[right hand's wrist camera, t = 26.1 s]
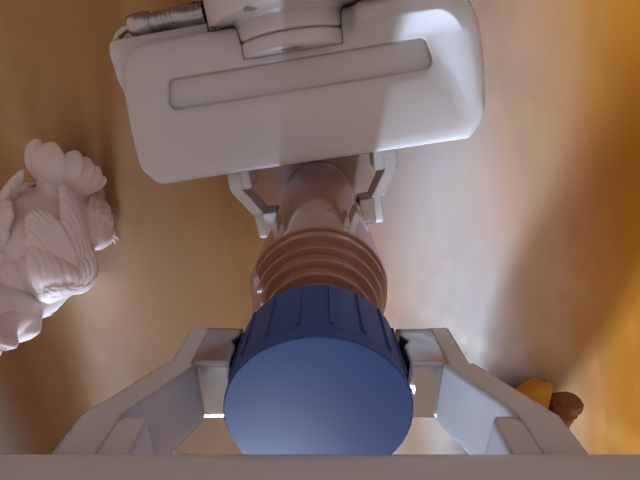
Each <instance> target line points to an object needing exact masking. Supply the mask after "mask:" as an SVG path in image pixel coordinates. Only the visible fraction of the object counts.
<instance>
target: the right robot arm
mask: <svg viewBox="0 0 640 480" xmlns="http://www.w3.org/2000/svg"><path fill="white" fill-rule="evenodd" d="M242 333H244V330H243V329H231V328H193V329H191V330H190V331H189V333H188V335H187V337H186V338H185V340H184V342H183V343H182V345H181V347H180V349H179V350H178V352H177V354H176V355H175V357H174V359H173V360H172V362H171V364H164V365H163V366H161V367H159V368H158V369H156V370H154V371H153V372H151V373H150V374H148V375H146V376H145V377H143V378H141V379H140V380H138V381H136V382H135V383H133V384H132V385H130V386H128V387H127V388H125V389H123V390H122V391H120V392H119V393H117V394H115V395H114V396H112V397H110V398H109V399H107V400H105V401H104V402H102V403H101V404H99V405H97V406H96V407H94V408H92V409H91V410H89V411H87V412H86V413H84V414H83V415H81V416H80V418H79V419H78V420H77V421H76V423H75V424H74V425H73V427H72V428H71V429H70V430H69V432H68V433H67V434H66V436H65V437H64V438H63V439H62V441H61V442H60V443H59V445H58V446H57V447H56V448H55V450H54V451H53V452H52V453H51V454H0V480H640V455H589V454H588V453H587V452H586V450H585V449H584V448H583V447H582V445H581V444H580V443H579V441H578V440H577V439H576V437H575V436H574V435H573V434H572V432H571V431H570V430H569V428H568V427H567V426H566V425H565V423H564V422H563V421H562V419H561V418H560V417H559V416H558V415H557V414H555V413H553V412H552V411H550V410H548V409H547V408H545V407H544V406H542V405H540V404H539V403H537V402H535V401H534V400H532V399H531V398H529V397H527V396H526V395H524V394H522V393H521V392H519V391H518V390H516V389H514V388H513V387H511V386H509V385H508V384H506V383H505V382H503V381H501V380H500V379H498V378H496V377H495V376H493V375H492V374H490V373H488V372H487V371H485V370H483V369H482V368H480V367H479V366H477V365H475V364H469V363H468V361H467V360H466V358H465V356H464V354H463V353H462V351H461V349H460V348H459V346H458V344H457V343H456V341H455V339H454V338H453V336H452V334H451V333H450V331H449V329H447V328H429V329H396V331H395V335H396V338H397V341H398V345H399V348H400V351H401V354H402V357H403V360H404V363H405V366H406V369H407V372H408V374H406V377H407V380H408V383H409V387H410V390H411V393H412V397H413V405H414V407H413V417H433V418H435V419H436V420H437V421H438V423H439V424H440V425H441V426H442V427H443V428H444V429H445V430H446V431H447V432H448V433H449V434H450V435H451V436H452V437H453V438H454V439H455V440H456V441H457V442H458V443H459V444H460V445H461V446H462V447H463V448H464V449H465V450H466V451H467V452H468V453H469V454H470V455H296V454H247V455H170V454H171V453H172V452H173V451H174V450H175V449H176V448H177V447H178V446H179V445H180V444H181V443H182V442H183V441H184V440H185V439H186V438H187V437H188V436H189V435H190V434H191V432H192V431H193V430H194V429H195V428H196V427H197V426H198V425H199V424H200V423H201V422H202V421H203V420H204V418H207V417H224V414H223V402H224V395H225V392H226V389H227V385H228V382H229V379H227V377H228V374H229V371H230V368H231V365H232V362H233V359H234V357H235V354H236V351H237V348H238V345H239V342H240V339H241V336H242Z"/></svg>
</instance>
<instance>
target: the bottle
mask: <svg viewBox="0 0 640 480" xmlns="http://www.w3.org/2000/svg"><path fill="white" fill-rule="evenodd" d="M306 285H332V286H336V287H341V288H344V289H347V290H350V291H352V292H354V293H359V295H361V296H362V297H364V298H366V299H367V300H369V301H370V302H371V303H372V304H374V305H375V306H376V307H377V308H380V309H381V312H382V314H383V313H384V310H385V306H386V301H387V277H386V273H385V270H384V267H383V264H382V261H381V259H380V256H379V254H378V251H377V249H376V246H375V244H374V241H373V239H372V236H371V234H370V231H369V229H368V226H367V224H366V221H365V219H364V216H363V214H362V211H361V209H360V206H359V204H358V201H357V199H356V196H355V194H354V191H353V189H352V186H351V183H350V181H349V179H348V178H347V176H346V175H345V173H344V172H343V171H342V170H340V169H339V168H338V167H336V166H334V165H332V164H329V163H324V162H315V163H310V164H307V165H305V166H303V167H301V168H300V169H299V170H298V171H297V172H295V174H294V175H293V176H292V178H291V179H290V182H289V184H288V186H287V189H286V191H285V194H284V196H283V198H282V201H281V203H280V206H279V208H278V211H277V213H276V216H275V218H274V220H273V223H272V225H271V228H270V230H269V233H268V235H267V237H266V240H265V242H264V245H263V247H262V250H261V252H260V254H259V257H258V259H257V262H256V264H255V267H254V269H253V273H252V277H251V301H252V307H253V310H254V312H257V311H258V310H259V309H260V307H261V306H262V305H264V304H265V303H266V302H267V301H269V300H270V299H272V298H273V296H274V295H276V296H277V295H278V294H280V293H283V292H285V291H287V290H290V289H293V288H297V287H299V286H306Z"/></svg>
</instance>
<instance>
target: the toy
mask: <svg viewBox="0 0 640 480" xmlns="http://www.w3.org/2000/svg"><path fill="white" fill-rule="evenodd" d="M514 389H516V390H518V391H519V392H521V393H522V394H524V395H526V396H527V397H529V398H531V399H532V400H534V401H535V402H537V403H539V404H540V405H542V406H544V407H545V408H547V409H548V410H550V411H552V412H553V413H555V414H557V415H558V416H559V417H560V418H561V419H562V421H563V422H564V423H565V425H566V426H567V427H568V428H569V427H570V426H571V424H572V422H573V420H574V419H576V418H577V416H578V415H579V414H581V413H582V411H583V406H584V404H583V403H582V401H581V400H580V398H579V397H577V396H576V395H575V394H573V393H570V392H558V393H553V394H552V392H553V386H552V384H551V383H548V382H546V381H543V380H540V379H534V378H532V379H529V380H527V381H525V382H523V383H521V384H520V385H519V386H518V387H516V388H514ZM550 399H551V400H550ZM549 402H550V405H549Z"/></svg>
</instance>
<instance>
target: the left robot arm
mask: <svg viewBox="0 0 640 480" xmlns="http://www.w3.org/2000/svg"><path fill="white" fill-rule="evenodd" d="M167 30H168V31H167ZM128 32H130V34H131V35H132V36H134V37H128V38H123V37H124V36H125V35H126V34H127V33H128ZM109 50H110V57H111V60H112V63H113V66H114V69H115V72H116V75H117V79H118V81H119V84H120V85H121V87H122V89H123V90H124V91H125V98H126V105H127V111H128V117H129V122H130V127H131V132H132V137H133V141H134V145H135V149H136V153H137V157H138V160H139V163H140V166H141V168H142V170H143V171H144V172H145V173H146V174H148V175H149V176H150V177H151V178H152V179H154V180H155V181H156V182H158V183H160V184H165V183H172V182H179V181H186V180H192V179H199V178H206V177H212V176H219V175H225V174H227V179H228V183H229V187H230V191H231V193H232V194H233V195H234V196H235V197H236V198H237V199H238V200H239V201H240V203H241V204H242V205H243V206H244V207H245V208H246V209H247V210H248V211H249V212H250V213H251V214H252V215H254V216H255V221H256V225H257V229H258V234H259V237H260V239H261V238H266V237H267V235H268V233H269V230H270V228H271V225H272V223H273V220H274V218H275V216H276V213H277V211H278V208H279V205H275V206H268V205H267V204H266V203H265V202H264V201H263V199H262V198H261V197H260V196H259V195H258V193H257V192H256V191H255V190H254V189H253V185H254V184H255V183H256V182H257V175H256V170H259V169H265V168H272V167H279V166H285V165H292V164H298V163H305V162H312V161H318V160H325V159H332V158H338V157H345V156H352V155H358V154H365V153H369V156H370V164H371V165H372V166H373V167H374V168H375V169H376V170H377V171H376V173H375V176H374V178H373V180H372V183H371V185H370V187H369V190H368V192H364V193H358V194H356V196H357V201H358V204H359V206H360V209H361V211H362V214H363V216H364V219H365V221H366V224H369V223H375V222H376V223H377V222H383V206H382V196H384V194H385V192H386V190H387V188H388V186H389V184H390V182H391V180H392V178H393V176H394V174H395V172H396V170H397V168H398V167H397V151H396V149H398V148H405V147H411V146H418V145H425V144H431V143H438V142H445V141H451V140H458V139H464V138H468V137H470V136H471V134H472V133H473V132H474V131H475V129H476V128H477V126H478V125H479V123H480V122H481V120H482V118H483V114H484V104H485V86H484V65H483V52H482V44H481V35H480V28H479V23H478V19H477V16H476V13H475V10H474V8H473V6H472V5H471V3H470V2H469V0H202V1H196V2H192V3H187V4H181V5H176V6H172V7H169V8H167V9H163V10H160V11H155V12H149V11H142V12H137V13H133V14H131V15H129V16H127V17H126V18H125V24H124V25H122V26H121V27H119V28H118V29H117V31H116V32H115V34H114V36H113V38H112V41H111V43H110V46H109Z"/></svg>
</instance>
